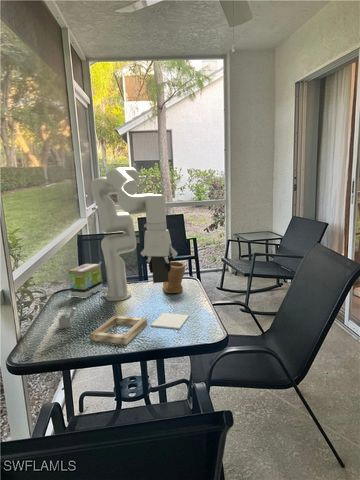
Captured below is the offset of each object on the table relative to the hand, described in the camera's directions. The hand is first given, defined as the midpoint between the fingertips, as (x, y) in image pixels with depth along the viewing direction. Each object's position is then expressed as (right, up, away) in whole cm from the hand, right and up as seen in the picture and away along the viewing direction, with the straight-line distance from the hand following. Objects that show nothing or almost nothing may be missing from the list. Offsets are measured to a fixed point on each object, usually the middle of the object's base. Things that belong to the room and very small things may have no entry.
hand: (160, 271), depth 130 cm
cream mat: (+4, -21, +5) cm, 22 cm away
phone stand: (0, -3, +1) cm, 3 cm away
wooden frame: (-15, -23, -2) cm, 28 cm away
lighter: (-38, -23, +6) cm, 45 cm away
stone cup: (+5, -14, +43) cm, 45 cm away
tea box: (-42, -16, +46) cm, 64 cm away
